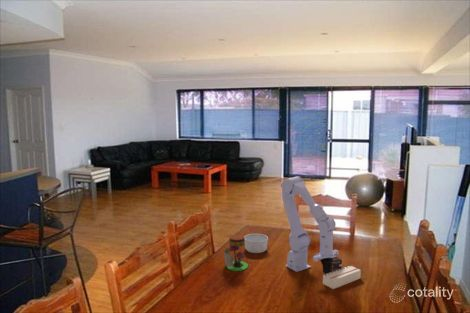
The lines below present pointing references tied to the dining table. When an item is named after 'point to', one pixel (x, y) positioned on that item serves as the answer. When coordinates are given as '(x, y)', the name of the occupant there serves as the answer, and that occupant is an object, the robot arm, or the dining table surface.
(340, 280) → the striped peg rail
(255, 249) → the ramekin
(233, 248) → the plant terrarium
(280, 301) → the dining table surface
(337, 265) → the box
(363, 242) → the dining table surface
